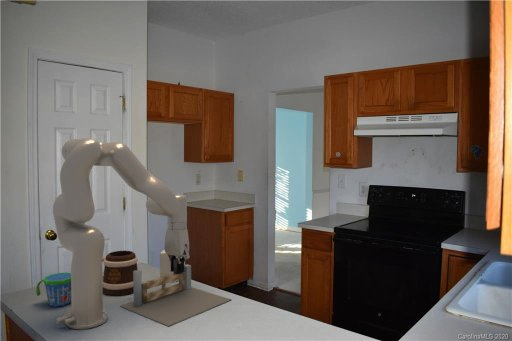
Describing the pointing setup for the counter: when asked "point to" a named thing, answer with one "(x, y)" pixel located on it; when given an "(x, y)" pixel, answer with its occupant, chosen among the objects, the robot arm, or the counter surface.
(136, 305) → the gate frame
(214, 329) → the counter surface
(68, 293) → the snack cup
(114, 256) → the mug
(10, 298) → the counter surface
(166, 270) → the supplement box
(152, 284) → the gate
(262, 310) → the counter surface
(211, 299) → the taupe mat
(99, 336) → the counter surface
